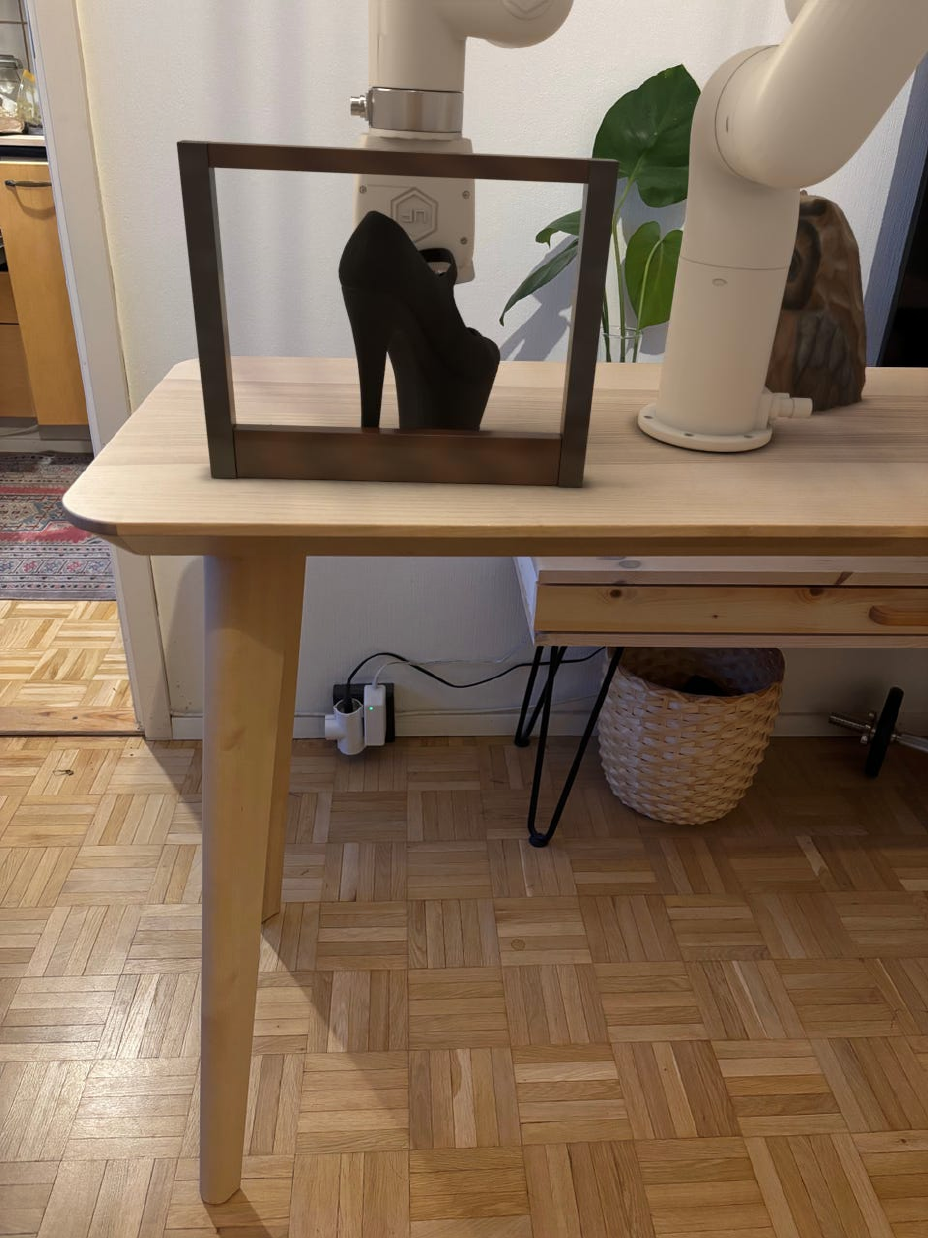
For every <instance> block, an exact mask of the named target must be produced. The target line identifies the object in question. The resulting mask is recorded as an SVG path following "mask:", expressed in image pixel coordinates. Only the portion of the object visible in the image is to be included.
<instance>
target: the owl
mask: <svg viewBox="0 0 928 1238" xmlns="http://www.w3.org/2000/svg"><path fill="white" fill-rule="evenodd" d="M862 279H863V278H862V264H861V256H860V248H859V244H858V241H857V238H856V236H855V233H854V231H853V228H852V227H851V224H850V222H849V221H848V218H847V216H846V214H845V212H844V211H843V209H842V208H841V207H840V206H839V204H838V203H836V202H834V201H832V200H830V199H828V198H826V197H824V196H820V195H816V194H815V195H813V194H808V191H807V190H805V189H802V190H800V204H799V217H798V226H797V233H796V240H795V245H794V250H793V255H792V259H791V264H790V266H789V271H788V276H787V280H786V285H785V290H784V295H783V299H782V304H781V309H780V314H779V319H778V323H777V328H776V333H775V338H774V342H773V347H772V352H771V357H770V361H769V366H768V371H767V376H766V380H765V385H764V386H765V387H766V388H768V389H769V390H770V391H771V392H772V393H789V396H790V398H810V399H811V400H812V412H811V413H813V412H816V411H826V410H828V409H833V408H835V407H846V406H850V405H851V404H853V403H854V404H855V403H859V402H862V401H863V399H862V397H863V396H862V394H863V390H864V388H865V385H866V381H867V374H866V368H867V361H868V360H867V347H868V343H867V342H868V333H867V332H868V326H867V321H866V312H865V305H864V291H863V281H862Z"/></svg>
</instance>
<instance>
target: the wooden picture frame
mask: <svg viewBox="0 0 928 1238" xmlns="http://www.w3.org/2000/svg"><path fill="white" fill-rule="evenodd" d="M176 151H177V160H178V161H177V162H178V171H179V182H180V190H181V199H182V210H183V219H184V229H185V230H184V231H185V238H186V239H185V240H186V248H187V257H188V258H187V259H188V266H189V267H188V268H189V277H190V287H191V297H192V305H193V315H194V325H195V333H196V334H195V335H196V343H197V344H196V345H197V355H198V364H199V373H200V381H201V383H200V384H201V391H202V392H201V393H202V402H203V403H202V404H203V413H204V422H205V431H206V432H205V433H206V439H207V441H206V442H207V451H208V459H209V470H210V477H211V479H212V478H213V479H237V478H249V479H250V478H252V479H256V478H257V479H286V480H287V479H291V480H292V479H293V480H326V481H327V480H328V481H329V480H330V481H331V480H332V481H364V482H365V481H367V482H368V481H370V482H373V481H374V482H410V483H411V482H412V483H446V484H448V483H449V484H450V483H451V484H454V483H455V484H486V485H487V484H488V485H489V484H490V485H523V486H524V485H526V486H527V485H528V486H529V485H530V486H557V487H558V488H559V487H560V488H583V483H584V474H585V466H586V457H587V448H588V440H589V431H590V422H591V414H592V405H593V398H594V397H593V395H594V387H595V378H596V370H597V361H598V353H599V345H600V335H601V328H602V327H601V326H602V319H603V310H604V302H605V301H604V300H605V292H606V291H605V290H606V283H607V276H608V275H607V273H608V265H609V259H610V258H609V256H610V248H611V240H612V230H613V222H614V214H615V204H616V196H617V189H618V188H617V187H618V179H619V171H620V161H619V160H617V159H615V158H598V157H571V156H570V157H569V156H545V155H544V156H543V155H524V154H523V155H522V154H520V155H519V154H505V153H504V154H499V153H482V152H481V153H479V152H477V153H476V152H473V153H458V152H436V151H413V150H391V149H368V148H357V147H347V146H345V147H343V146H320V145H301V144H299V145H298V144H297V145H295V144H279V143H278V144H275V143H252V142H230V141H211V140H194V139H193V140H191V139H182V140H177V141H176ZM215 169H232V170H234V169H235V170H254V171H255V170H257V171H277V172H279V171H281V172H301V173H302V172H304V173H324V174H325V173H326V174H327V173H328V174H349V175H350V174H351V175H354V174H370V175H394V176H417V177H440V178H464V179H475V180H488V181H489V180H491V181H493V180H494V181H509V182H510V181H514V182H533V183H534V182H536V183H537V182H538V183H558V184H581V185H582V184H583V191H582V200H581V208H580V209H581V210H580V221H579V229H578V231H579V232H578V241H577V251H576V260H575V261H576V262H575V273H574V281H573V291H572V292H573V293H572V300H571V301H572V302H571V310H570V311H571V312H570V321H569V322H570V323H569V333H568V340H567V341H568V343H567V351H566V352H567V353H566V362H565V374H564V383H563V391H562V392H563V394H562V401H561V402H562V404H561V412H560V413H561V415H560V423H559V432H547V431H546V432H541V431H509V430H505V431H504V430H479V431H476V430H440V429H405V428H399V427H379V428H370V427H361V426H330V425H329V426H328V425H299V424H298V425H296V424H295V425H293V424H265V423H262V424H261V423H237V415H236V414H237V413H236V402H235V391H234V380H233V379H234V378H233V368H232V357H231V355H232V354H231V345H230V334H229V331H230V330H229V320H228V309H227V299H226V298H227V297H226V287H225V286H226V284H225V273H224V262H223V252H222V251H223V250H222V240H221V229H220V218H219V205H218V204H219V203H218V194H217V183H216V170H215Z"/></svg>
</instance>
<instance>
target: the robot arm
mask: <svg viewBox="0 0 928 1238" xmlns="http://www.w3.org/2000/svg"><path fill="white" fill-rule="evenodd" d="M574 1H575V0H368V86H369V88H367V89H368V92H364V94H359V96H350V116H355V117H359V118H360V119H364V121H365V122H368V132H362V133H359V136H358V140H357V147H356V148H368V149H391V150H413V151H436V152H458V153H474V149H473V143H472V139H470V138H468V137H463V128H464V127H463V124H464V120H463V119H464V104H465V103H464V102H465V101H464V99H465V93H464V91H465V73H466V71H465V70H466V49H467V48H466V47H467V39H468V37H469V38H474V39H481V40H485V42H487V43H489V44H490V45H493V46H495V47H498V48H500V49H511V50H512V49H523V48H529V47H530V48H531V47H533V46H537V45H539V44H541V43H544V42H545V41H546V40H548V39H550V38H551V37H552V36H553V35H555V34H556V33H557V32H558V31H559V30H560V28H561V27H562V26H563V25H564V23H565V21H566V20H567V19H568V17H569V15H570V13H571V11H572V8H573V5H574ZM784 8H785V11H786V12H785V13H786V16H787V18H788V20H789V22H790V24H791V26H790V27H789V29H788V31H786V34H785V35H784V37H783V39H782V40H781V42H780V43H779V44H765V45H764V44H763V45H757V46H753V47H749V48H747V49H744V50H741V51H739V52H737V53H736V54H734V55H732V56H731V57H729V58H728V59H726V60H725V61H724V62H722V63H721V64H720V65H719V66H718V67H717V69H715V71H714V72H713V73H712V74H711V75H710V77H709V78H708V79H707V80H706V82H705V85H704V86H703V88H702V90H701V92H700V94H699V96H698V99H697V101H696V105H695V109H694V112H693V115H692V121H691V129H690V137H689V138H690V139H689V141H690V142H689V157H688V159H689V160H688V161H689V162H688V163H689V165H688V186H687V197H686V207H685V215H684V223H683V230H682V237H681V244H680V250H679V255H678V262H677V268H676V275H675V282H674V288H673V294H672V301H671V307H670V314H669V320H668V327H667V335H666V340H665V347H664V354H663V361H662V367H661V373H660V380H659V387H658V394H657V400H656V401H655V402H651V403H649V404H646V405H644V406H643V407H642V408H640V410H639V412H638V418H637V424H638V427H639V428H640V429H641V430H642V431H643V432H644V433H645V434H647V435H648V436H650V437H651V438H654V439H656V440H658V441H660V442H664V443H667V444H669V445H673V446H677V447H681V448H686V449H691V450H697V451H704V452H705V451H706V452H717V453H718V452H720V453H725V452H726V453H734V452H746V451H751V450H756V449H758V448H761V447H764V446H765V445H767V444H768V443H769V442H770V440H772V434H773V425H772V423H771V422H775V421H777V419H778V418H788V419H797V420H799V419H800V420H808V419H809V418H810V417H811V415H812V413H813V412H812V400H811V399H810V398H790V396H789V393H772V392H771V391H770V390H769V389H768V388H766V387H765V386H764V385H765V380H766V376H767V371H768V366H769V361H770V357H771V352H772V347H773V342H774V338H775V333H776V328H777V323H778V319H779V314H780V309H781V304H782V299H783V295H784V290H785V285H786V280H787V276H788V271H789V266H790V264H791V259H792V255H793V250H794V245H795V240H796V233H797V226H798V217H799V204H800V191H801V189H806V188H808V187H809V188H810V187H812V186H815V185H817V184H820V183H822V182H824V181H826V180H827V179H830V177H832V176H833V175H835V174H836V173H837V172H838V171H840V170H841V169H842V168H843V167H844V166H845V165H846V164H847V163H848V162H849V161H850V160H851V159H852V158H853V157H854V155H856V153H857V152H858V151H859V149H861V147H862V146H863V145H864V143H865V142H866V141H867V139H868V138H869V137H870V136H871V134H872V132H873V131H874V130H875V129H876V127H877V125H878V124H879V122H880V121H881V119H882V118H883V116H884V115H885V114H886V112H887V111H888V110H889V108H890V107H891V106H892V104H893V103H894V102H895V99H896V98H897V97H898V96H899V94H900V93H901V91H902V89H903V88H904V86H905V85H906V84H907V82H908V81H909V80H910V77H912V75H913V74H914V72H915V70H916V69H917V67H918V66H919V65H920V64H921V62H922V61H923V59H924V58H925V56H926V54H927V53H928V0H784ZM374 210H375V211H378V212H380V213H382V214H384V215H386V216H388V217H389V218H391V219H393V220H394V221H396V222H397V223H398V224H399V225H400V226H401V227H402V228H403V229H404V230H405V232H406V233H407V234H408V236H409V238H410V239H411V241H412V242H413V244H414V245H415V246H416V248H417V249H418V250H422V249H428V248H446V249H448V250H450V252H451V253H452V254H453V256H454V259H455V262H456V266H457V271H458V276H457V279H456V282H455V285H454V286H457V285H461V284H465V283H470V282H472V281H474V280H475V278H476V272H475V266H474V260H473V259H474V253H475V251H474V250H475V239H476V238H475V235H476V179H464V178H440V177H417V176H394V175H370V174H353V191H352V233H353V232H354V231H355V229H356V228H357V226H358V225H359V223H360V222H361V221H362V219H363V218H364V217H365V215H366V214H367V213H368V212H369V211H374ZM428 265H429V266H430V267H431V269H432V270H433V271H434V272H435V273H436V274H437V275H439V276H440V277H441V276H443V275H444V274H445V272H446V271H447V270H448V268H449V266H450V265H451V264H449V263H446V262H430V263H428Z"/></svg>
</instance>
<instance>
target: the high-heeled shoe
mask: <svg viewBox="0 0 928 1238" xmlns="http://www.w3.org/2000/svg"><path fill="white" fill-rule="evenodd" d="M430 262H446V263H449V264H451V265H450V266H449V268H448V270H447V271H446V272H445V274H444V275H443V276H441V277H440V276H439V275H437V274H436V273H435V272H434V271H433V270H432V269H431V267H430V266H429V265H428V263H430ZM337 271H338V279H339V284H340V285H341V287H340V288H341V293H342V297H343V302H344V306H345V311H346V314H347V318H348V321H349V326H350V329H351V334H352V339H353V344H354V350H355V356H356V357H355V358H356V362H357V363H356V364H357V372H358V380H359V392H360V394H359V395H360V427H370V428H380V421H381V413H382V401H383V390H384V382H385V375H386V374H385V373H386V365H387V356H388V358H389V361H390V364H391V367H392V371H393V375H394V384H395V391H396V401H397V414H398V428H405V429H440V430H476V431H481V430H480V429H481V424H482V420H483V417H484V414H485V411H486V408H487V405H488V402H489V398H490V395H491V393H492V389H493V387H494V383H495V380H496V376H497V373H498V370H499V365H500V363H501V350H500V348H499V346H498V344H497V343H496V342H495V341H494V340H492V339H491V338H489V337H487V336H484V335H483V334H482V333H481V332H480V331H479V330H478V329H476V328H474V327H471V326H467V325H466V323H465V321H464V319H463V317H462V315H461V312H460V310H459V308H458V306H457V303H456V298H455V290H454V289H455V286H456V285H455V282H456V279H457V276H458V271H457V266H456V262H455V259H454V256H453V254H452V253H451V252H450V250H448V249H446V248H428V249H422V250H418V249H417V248H416V246H415V245H414V244H413V242H412V241H411V239H410V238H409V236H408V234H407V233H406V232H405V230H404V229H403V228H402V227H401V226H400V225H399V224H398V223H397V222H396V221H394V220H393V219H391V218H389V217H388V216H386V215H384V214H382V213H380V212H378V211H375V210H374V211H369V212H368V213H367V214H366V215H365V217H364V218H363V219H362V221H361V222H360V223H359V225H358V226H357V228H356V229H355V231H354V232H353V233H352V234H351V235H350V236H349V239H348V240H347V241H346V244H345V246H344V247H343V251H342V254H341V257H340V259H339V264H338V270H337Z"/></svg>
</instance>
